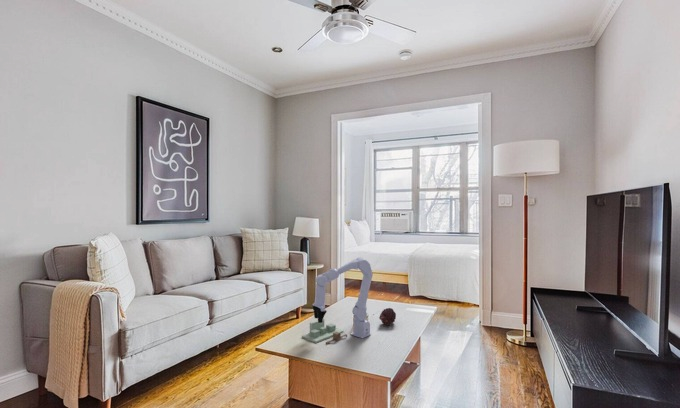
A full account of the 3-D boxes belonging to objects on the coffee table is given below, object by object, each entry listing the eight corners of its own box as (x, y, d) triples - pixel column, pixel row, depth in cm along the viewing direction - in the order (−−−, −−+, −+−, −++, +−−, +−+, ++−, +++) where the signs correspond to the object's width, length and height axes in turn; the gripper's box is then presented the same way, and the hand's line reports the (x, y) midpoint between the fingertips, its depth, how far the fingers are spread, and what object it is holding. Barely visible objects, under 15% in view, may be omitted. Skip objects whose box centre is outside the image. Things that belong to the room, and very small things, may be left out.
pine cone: (385, 318, 234) (385, 303, 234) (400, 321, 229) (400, 305, 229) (375, 327, 218) (375, 311, 218) (391, 329, 213) (391, 313, 213)
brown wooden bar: (349, 337, 202) (349, 330, 202) (329, 345, 191) (329, 337, 190) (343, 335, 205) (343, 328, 205) (323, 343, 194) (323, 335, 194)
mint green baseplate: (343, 332, 209) (343, 320, 209) (316, 343, 193) (316, 330, 193) (329, 327, 217) (329, 316, 217) (301, 337, 201) (301, 325, 201)
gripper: (310, 293, 207) (308, 316, 206) (316, 299, 193) (314, 324, 193) (321, 293, 209) (319, 316, 209) (329, 299, 195) (327, 324, 195)
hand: (318, 320), depth 201 cm, fingers open, 7 cm apart
